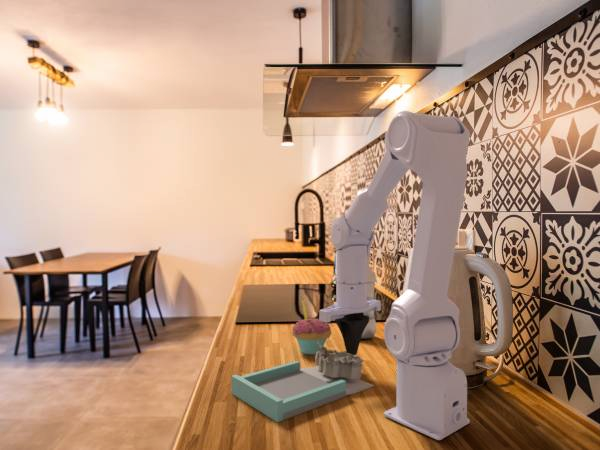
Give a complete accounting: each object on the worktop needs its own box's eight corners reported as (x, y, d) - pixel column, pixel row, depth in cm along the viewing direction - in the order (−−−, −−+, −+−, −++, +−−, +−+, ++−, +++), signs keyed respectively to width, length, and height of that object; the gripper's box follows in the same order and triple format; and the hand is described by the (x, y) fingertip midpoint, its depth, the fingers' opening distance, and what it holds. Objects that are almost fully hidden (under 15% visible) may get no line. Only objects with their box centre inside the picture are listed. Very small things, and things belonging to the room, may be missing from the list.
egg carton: (312, 362, 84) (315, 341, 84) (349, 366, 84) (352, 345, 85) (321, 377, 73) (324, 352, 74) (364, 381, 74) (367, 357, 74)
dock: (374, 390, 75) (374, 368, 75) (277, 427, 62) (277, 401, 62) (324, 369, 85) (324, 350, 85) (231, 398, 72) (231, 375, 72)
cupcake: (297, 359, 89) (297, 301, 89) (288, 347, 97) (287, 294, 97) (336, 355, 91) (336, 299, 91) (323, 343, 100) (323, 292, 99)
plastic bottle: (376, 342, 101) (376, 257, 100) (347, 340, 102) (347, 256, 101) (376, 334, 107) (376, 254, 106) (349, 333, 108) (349, 254, 108)
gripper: (362, 275, 88) (362, 341, 89) (308, 283, 79) (308, 356, 80) (389, 279, 83) (389, 349, 83) (334, 288, 74) (334, 366, 74)
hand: (351, 353), depth 81 cm, fingers closed, pressing on egg carton
